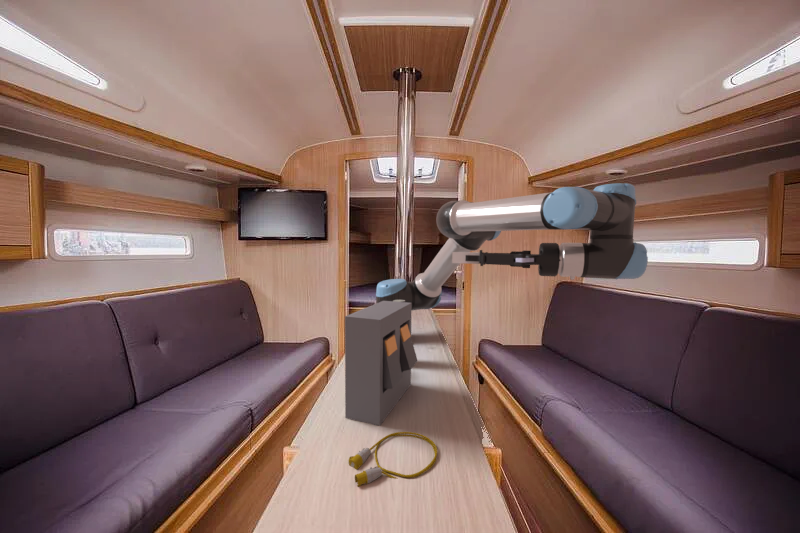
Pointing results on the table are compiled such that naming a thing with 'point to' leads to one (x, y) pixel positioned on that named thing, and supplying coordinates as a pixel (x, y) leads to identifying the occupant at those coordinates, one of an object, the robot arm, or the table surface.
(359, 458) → the extension cord
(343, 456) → the table surface
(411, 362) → the panel
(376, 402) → the block
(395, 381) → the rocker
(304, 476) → the table surface
